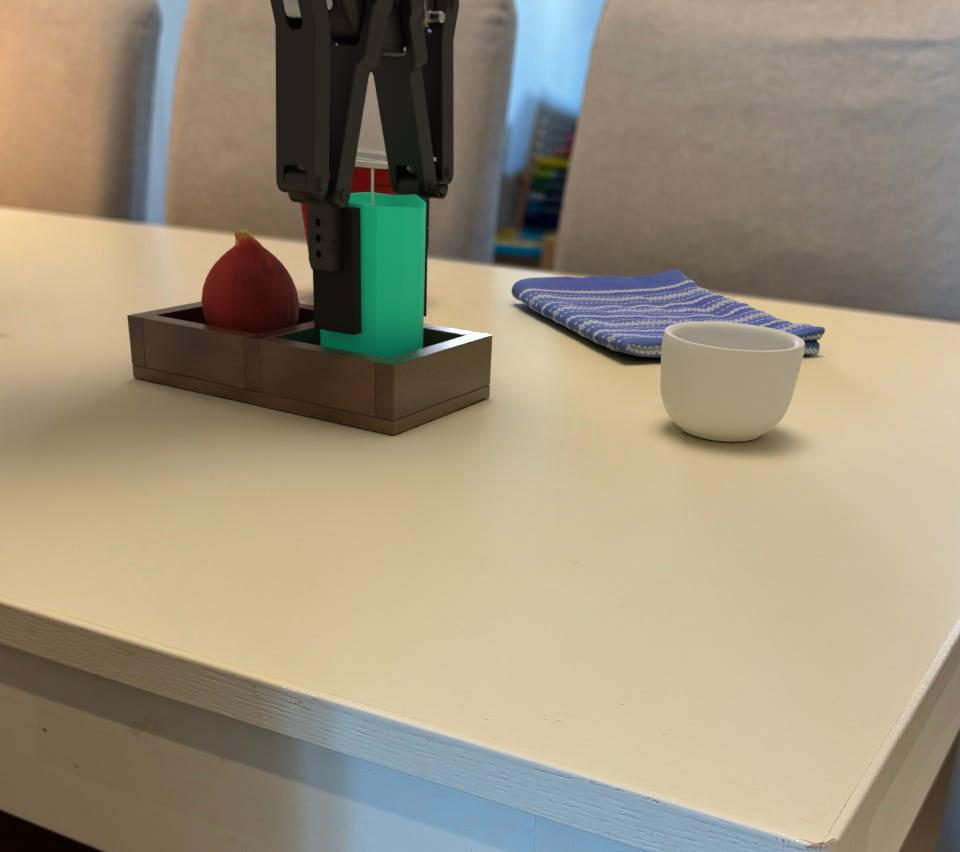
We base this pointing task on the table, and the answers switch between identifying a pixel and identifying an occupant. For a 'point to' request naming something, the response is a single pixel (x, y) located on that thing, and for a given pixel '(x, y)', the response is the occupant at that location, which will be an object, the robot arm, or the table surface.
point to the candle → (388, 276)
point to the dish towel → (642, 309)
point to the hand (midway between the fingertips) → (372, 321)
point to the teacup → (728, 378)
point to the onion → (249, 289)
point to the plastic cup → (364, 177)
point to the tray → (312, 369)
